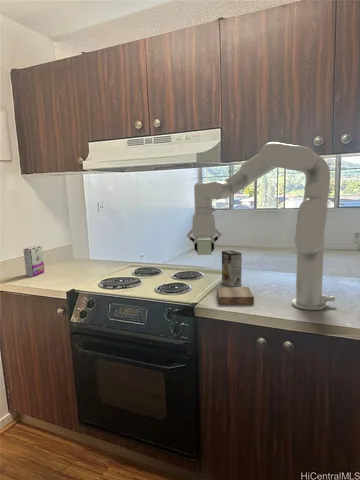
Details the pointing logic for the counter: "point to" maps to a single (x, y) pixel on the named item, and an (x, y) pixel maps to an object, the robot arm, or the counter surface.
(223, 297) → the walnut base
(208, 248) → the sage block
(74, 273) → the counter surface
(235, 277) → the coffee box
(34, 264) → the candy bar box
